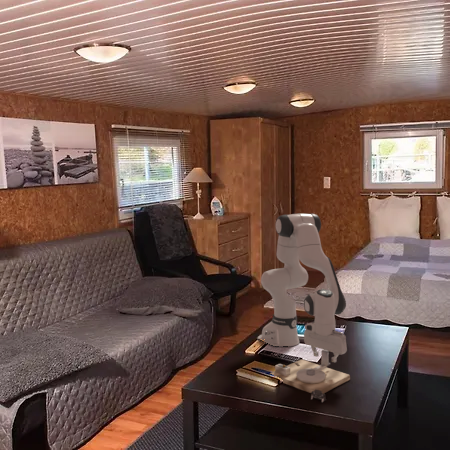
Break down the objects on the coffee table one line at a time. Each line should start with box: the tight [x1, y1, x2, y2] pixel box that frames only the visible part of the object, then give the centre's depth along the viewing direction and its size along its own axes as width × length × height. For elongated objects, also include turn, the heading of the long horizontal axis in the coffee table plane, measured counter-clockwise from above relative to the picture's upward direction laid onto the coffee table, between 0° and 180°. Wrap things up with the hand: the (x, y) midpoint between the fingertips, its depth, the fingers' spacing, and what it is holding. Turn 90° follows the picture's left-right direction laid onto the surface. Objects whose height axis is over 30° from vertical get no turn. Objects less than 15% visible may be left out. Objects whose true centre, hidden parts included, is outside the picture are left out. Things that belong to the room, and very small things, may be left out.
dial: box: [296, 349, 331, 384], centre depth 222 cm, size 20×12×9 cm, turn 133°
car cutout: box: [310, 389, 327, 403], centre depth 202 cm, size 15×7×4 cm, turn 53°
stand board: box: [269, 358, 351, 394], centre depth 224 cm, size 26×22×6 cm
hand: (324, 358), depth 226 cm, fingers open, 8 cm apart
